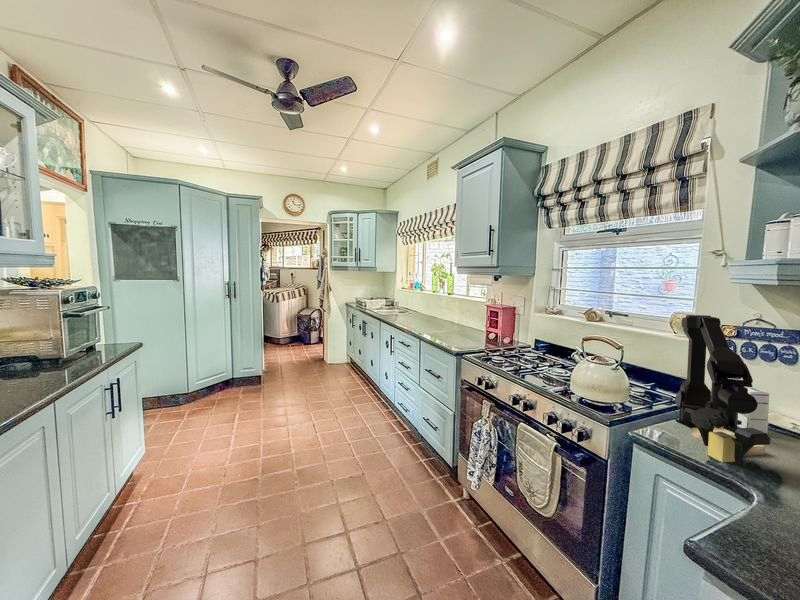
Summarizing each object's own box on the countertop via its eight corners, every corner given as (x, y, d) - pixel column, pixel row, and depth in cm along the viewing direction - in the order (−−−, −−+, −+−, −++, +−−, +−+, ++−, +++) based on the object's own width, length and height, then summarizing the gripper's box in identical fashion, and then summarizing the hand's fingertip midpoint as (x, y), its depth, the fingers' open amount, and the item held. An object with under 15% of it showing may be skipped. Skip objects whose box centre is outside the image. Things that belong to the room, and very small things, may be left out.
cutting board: (691, 435, 108) (691, 427, 108) (718, 433, 109) (718, 426, 109) (734, 456, 95) (735, 448, 95) (764, 454, 96) (765, 446, 96)
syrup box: (768, 434, 108) (771, 392, 107) (747, 433, 109) (750, 391, 109) (753, 427, 114) (756, 387, 113) (733, 425, 115) (736, 386, 114)
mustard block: (707, 454, 96) (709, 431, 96) (719, 454, 96) (721, 430, 96) (722, 462, 92) (723, 437, 92) (734, 461, 92) (736, 437, 92)
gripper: (669, 390, 102) (666, 438, 103) (735, 415, 83) (731, 473, 84) (701, 389, 103) (698, 437, 104) (774, 413, 84) (769, 471, 85)
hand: (721, 452), depth 94 cm, fingers open, 8 cm apart
